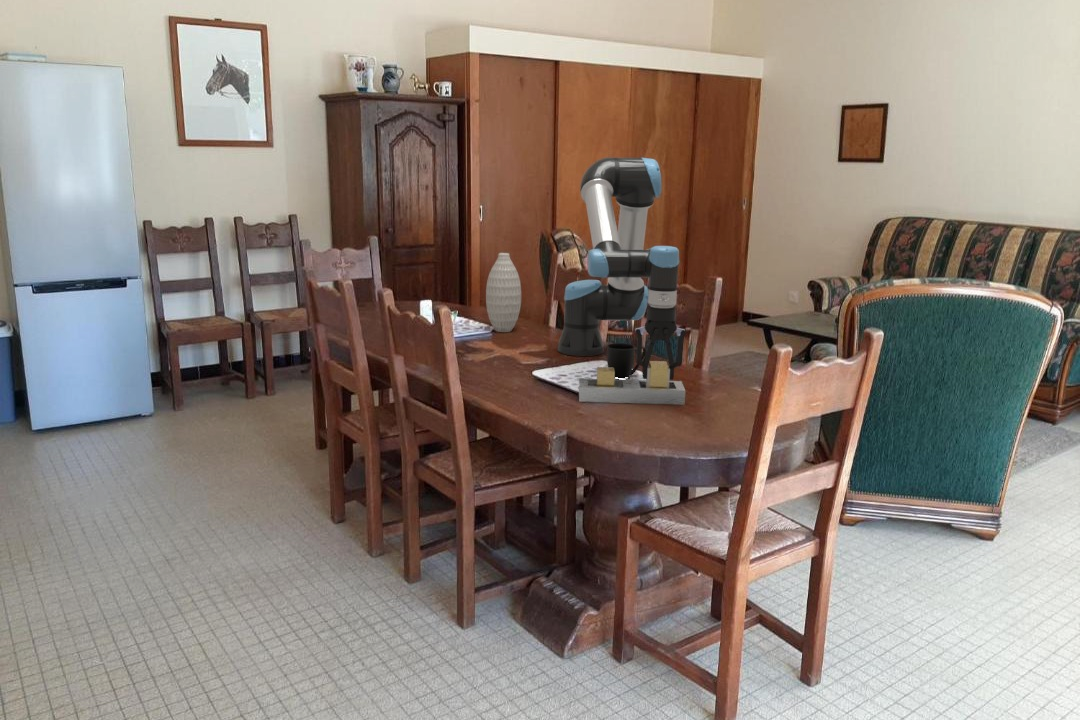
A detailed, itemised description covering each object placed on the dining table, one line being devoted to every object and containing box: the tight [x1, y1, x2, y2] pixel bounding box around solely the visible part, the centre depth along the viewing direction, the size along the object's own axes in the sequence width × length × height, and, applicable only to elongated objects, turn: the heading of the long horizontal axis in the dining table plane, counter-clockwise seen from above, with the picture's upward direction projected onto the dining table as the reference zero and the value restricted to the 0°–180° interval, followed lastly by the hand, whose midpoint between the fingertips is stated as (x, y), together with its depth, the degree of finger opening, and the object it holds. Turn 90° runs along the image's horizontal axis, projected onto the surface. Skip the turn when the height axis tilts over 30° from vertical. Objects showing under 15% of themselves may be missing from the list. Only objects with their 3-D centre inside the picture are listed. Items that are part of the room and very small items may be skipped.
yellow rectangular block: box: [648, 360, 669, 389], centre depth 231 cm, size 4×4×8 cm
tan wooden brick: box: [596, 366, 615, 387], centre depth 232 cm, size 4×4×8 cm
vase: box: [485, 252, 522, 333], centre depth 310 cm, size 13×13×28 cm
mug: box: [606, 342, 647, 378], centre depth 253 cm, size 8×12×10 cm
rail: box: [578, 377, 687, 406], centre depth 232 cm, size 9×28×4 cm, turn 88°
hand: (657, 390), depth 232 cm, fingers closed on yellow rectangular block, 4 cm apart
